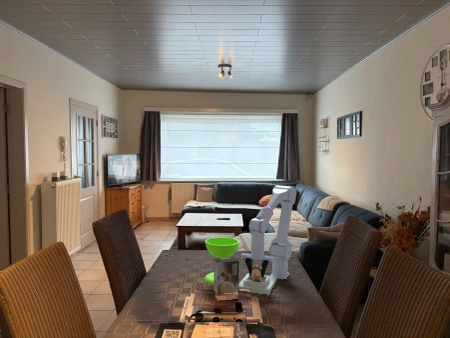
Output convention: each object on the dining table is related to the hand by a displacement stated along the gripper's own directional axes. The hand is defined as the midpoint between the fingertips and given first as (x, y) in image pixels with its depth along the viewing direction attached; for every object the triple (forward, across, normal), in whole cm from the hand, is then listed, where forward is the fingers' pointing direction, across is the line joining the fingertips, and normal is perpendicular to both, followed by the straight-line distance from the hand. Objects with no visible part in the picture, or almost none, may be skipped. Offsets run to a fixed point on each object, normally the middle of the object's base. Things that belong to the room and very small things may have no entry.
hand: (256, 276), depth 160 cm
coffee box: (+5, -9, -16) cm, 19 cm away
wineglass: (+5, -18, +4) cm, 19 cm away
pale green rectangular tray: (+5, 0, +2) cm, 5 cm away
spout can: (+2, 0, 0) cm, 2 cm away
